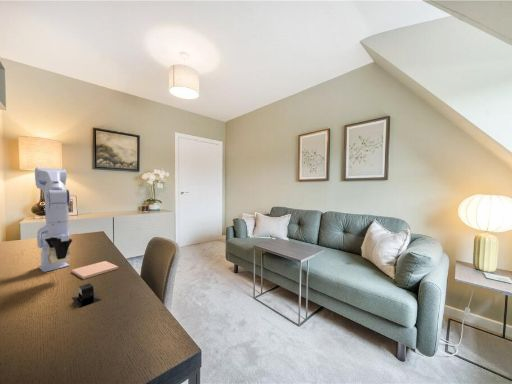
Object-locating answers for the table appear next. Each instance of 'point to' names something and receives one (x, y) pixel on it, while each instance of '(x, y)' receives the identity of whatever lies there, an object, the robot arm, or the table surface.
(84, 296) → the black block on base
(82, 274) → the salmon pink board
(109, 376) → the table surface
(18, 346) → the table surface
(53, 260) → the birch cube
